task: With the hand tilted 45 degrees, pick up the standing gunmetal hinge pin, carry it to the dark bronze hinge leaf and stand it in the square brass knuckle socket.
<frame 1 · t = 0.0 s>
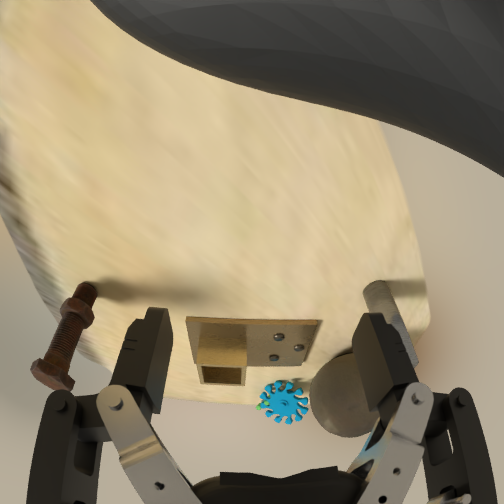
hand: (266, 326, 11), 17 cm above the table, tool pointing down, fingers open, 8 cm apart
pin: (375, 290, 35), on the table
blue lobed toy: (280, 386, 53), on the table
bolt: (88, 288, 35), on the table
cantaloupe: (344, 354, 46), on the table
hinge leaf: (249, 343, 42), on the table
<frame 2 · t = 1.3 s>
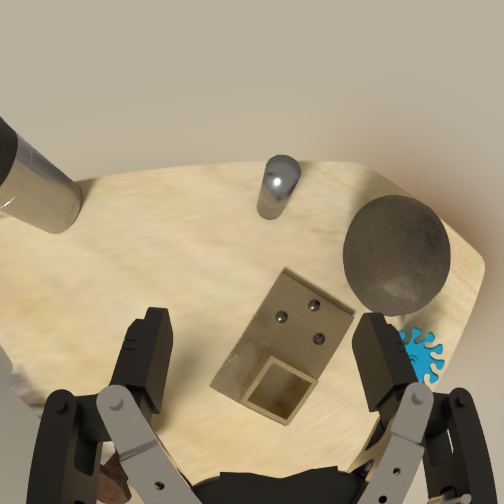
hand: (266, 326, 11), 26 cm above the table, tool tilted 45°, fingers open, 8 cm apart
pin: (269, 207, 40), on the table
blue lobed toy: (398, 360, 37), on the table
bolt: (141, 437, 33), on the table
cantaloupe: (368, 265, 39), on the table
hinge leaf: (283, 352, 36), on the table
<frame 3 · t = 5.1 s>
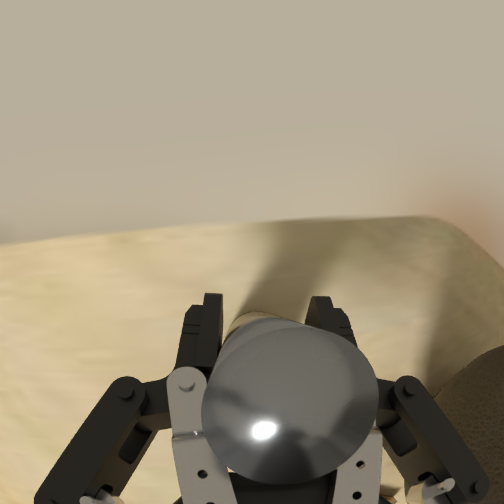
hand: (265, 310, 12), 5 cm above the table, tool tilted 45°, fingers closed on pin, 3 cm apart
pin: (256, 341, 17), on the table, touching gripper
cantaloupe: (435, 419, 16), on the table
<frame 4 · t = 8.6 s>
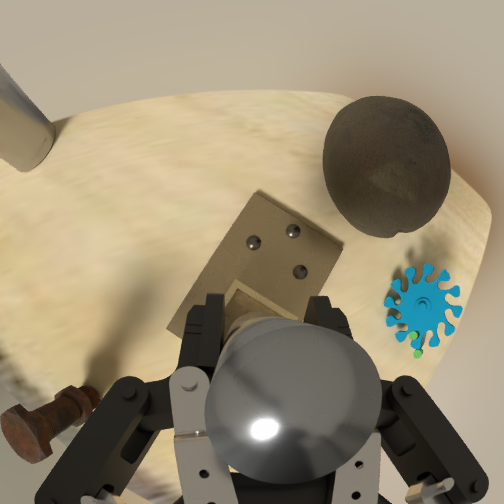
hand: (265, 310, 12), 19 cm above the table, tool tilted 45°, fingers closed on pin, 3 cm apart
pin: (256, 340, 17), point 14 cm above the table, touching gripper
blue lobed toy: (405, 311, 32), on the table
bolt: (91, 395, 28), on the table
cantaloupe: (357, 193, 34), on the table
hinge leaf: (257, 289, 31), on the table
when the fingers open (6 cm above the table, at t = 12.1 s): pin stays where it is, resting on hinge leaf.
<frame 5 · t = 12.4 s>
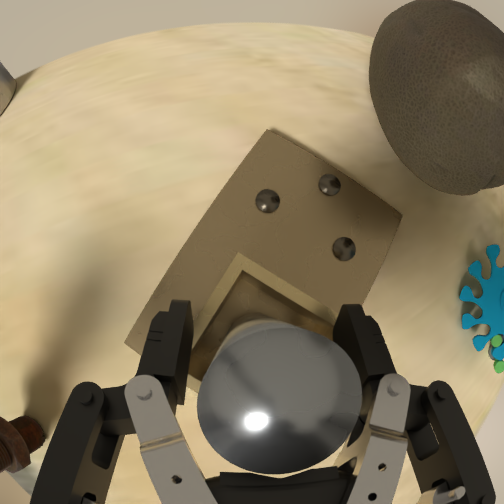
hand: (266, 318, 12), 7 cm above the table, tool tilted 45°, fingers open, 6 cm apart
pin: (255, 341, 17), point 1 cm above the table, touching hinge leaf
blue lobed toy: (479, 308, 19), on the table
bolt: (35, 429, 15), on the table
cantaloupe: (408, 143, 22), on the table
hinge leaf: (274, 278, 19), on the table
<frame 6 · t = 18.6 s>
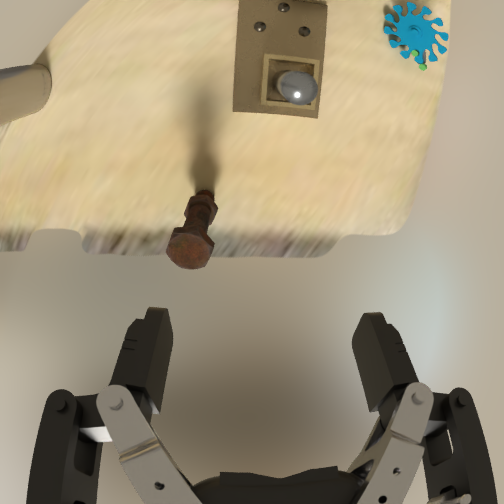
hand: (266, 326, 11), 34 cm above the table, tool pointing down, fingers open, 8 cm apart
pin: (286, 82, 34), point 1 cm above the table, touching hinge leaf
blue lobed toy: (404, 37, 29), on the table
bolt: (205, 197, 45), on the table
hinge leaf: (279, 54, 32), on the table
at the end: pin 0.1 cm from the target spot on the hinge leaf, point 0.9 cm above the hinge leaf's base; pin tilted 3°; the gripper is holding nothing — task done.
